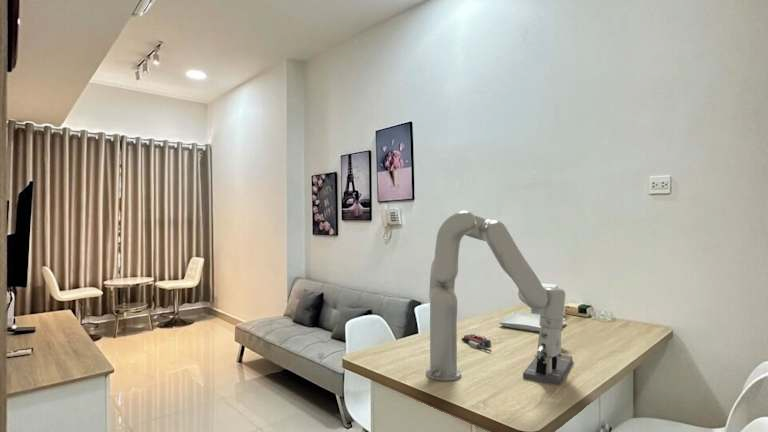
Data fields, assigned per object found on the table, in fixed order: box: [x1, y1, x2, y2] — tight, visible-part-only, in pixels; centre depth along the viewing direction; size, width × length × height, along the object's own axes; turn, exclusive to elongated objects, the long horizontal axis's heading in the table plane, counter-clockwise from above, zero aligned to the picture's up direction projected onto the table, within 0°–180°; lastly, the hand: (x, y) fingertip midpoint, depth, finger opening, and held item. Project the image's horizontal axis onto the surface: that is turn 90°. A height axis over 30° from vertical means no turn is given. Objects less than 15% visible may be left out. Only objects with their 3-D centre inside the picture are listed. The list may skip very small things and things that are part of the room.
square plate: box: [498, 311, 566, 333], centre depth 215 cm, size 27×27×4 cm
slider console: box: [522, 352, 573, 387], centre depth 152 cm, size 28×12×3 cm, turn 147°
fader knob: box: [534, 352, 552, 374], centre depth 143 cm, size 3×5×6 cm, turn 57°
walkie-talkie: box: [461, 333, 492, 353], centre depth 180 cm, size 9×4×20 cm
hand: (546, 370), depth 144 cm, fingers open, 9 cm apart
